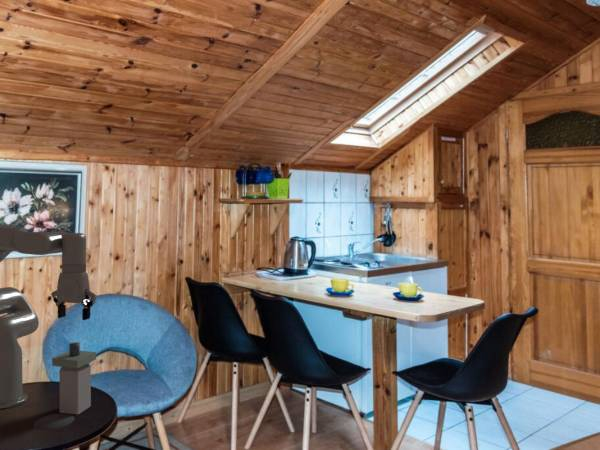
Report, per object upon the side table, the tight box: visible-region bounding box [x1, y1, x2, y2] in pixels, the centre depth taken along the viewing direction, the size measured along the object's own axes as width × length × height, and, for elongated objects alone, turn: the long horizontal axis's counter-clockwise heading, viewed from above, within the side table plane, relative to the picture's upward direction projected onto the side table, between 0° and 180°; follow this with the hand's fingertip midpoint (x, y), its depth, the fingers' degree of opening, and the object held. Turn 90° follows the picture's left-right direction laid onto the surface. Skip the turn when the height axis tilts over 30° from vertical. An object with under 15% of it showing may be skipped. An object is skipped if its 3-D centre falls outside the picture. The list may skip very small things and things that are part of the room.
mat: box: [33, 412, 75, 431], centre depth 159 cm, size 12×12×1 cm
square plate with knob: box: [51, 341, 97, 368], centre depth 167 cm, size 10×10×7 cm
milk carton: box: [58, 363, 92, 415], centre depth 168 cm, size 7×7×19 cm
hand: (73, 318), depth 167 cm, fingers open, 9 cm apart
